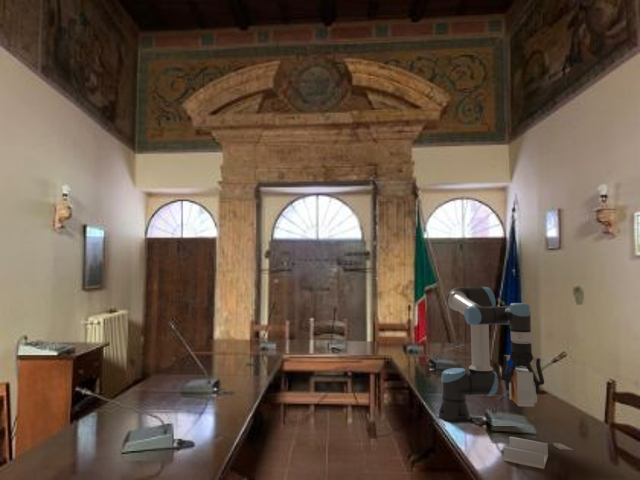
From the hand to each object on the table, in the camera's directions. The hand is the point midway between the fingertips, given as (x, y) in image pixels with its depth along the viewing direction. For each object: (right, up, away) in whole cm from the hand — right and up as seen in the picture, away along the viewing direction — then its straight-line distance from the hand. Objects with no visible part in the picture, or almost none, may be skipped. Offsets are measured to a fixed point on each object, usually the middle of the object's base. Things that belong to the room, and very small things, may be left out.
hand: (523, 400), depth 180 cm
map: (+22, -23, +2) cm, 32 cm away
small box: (0, -1, 0) cm, 1 cm away
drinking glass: (+46, -28, +101) cm, 115 cm away
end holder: (0, -22, -3) cm, 22 cm away
